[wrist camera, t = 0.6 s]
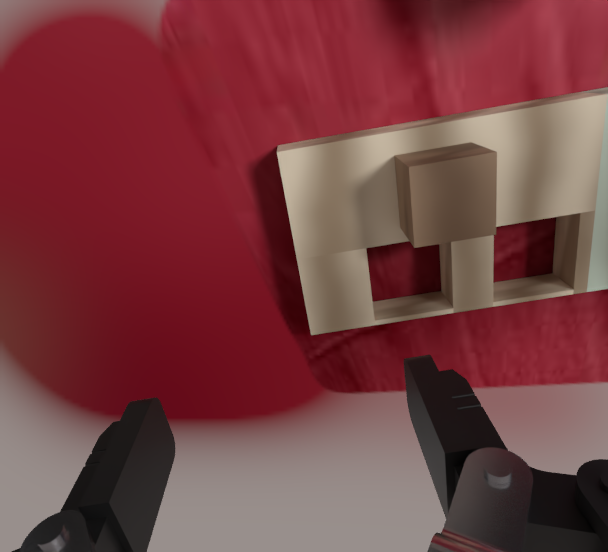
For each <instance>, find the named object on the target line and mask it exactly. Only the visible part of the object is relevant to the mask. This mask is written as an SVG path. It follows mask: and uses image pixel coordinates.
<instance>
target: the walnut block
mask: <svg viewBox="0 0 608 552" xmlns="http://www.w3.org/2000/svg"><path fill="white" fill-rule="evenodd" d="M394 159H395V171H396V183H397V195H398V208H399V220H400V228H401V230H402V231H403V233H404V234H405V235H406V237H407V238H408V240H409V241H410V242H411V244H412V245H413V247H414V248H418V247H424V246H430V245H436V244H442V243H448V242H454V241H461V240H467V239H473V238H479V237H485V236H491V235H496V200H497V152H496V151H493V150H491V149H488V148H485V147H483V146H480V145H477V144H475V143H472V142H469V143H463V144H458V145H452V146H446V147H440V148H435V149H429V150H423V151H417V152H411V153H406V154H400V155H394Z"/></svg>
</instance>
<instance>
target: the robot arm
mask: <svg viewBox="0 0 608 552" xmlns="http://www.w3.org/2000/svg"><path fill="white" fill-rule="evenodd" d="M404 370H405V381H406V392H407V402H408V408H409V413H410V417H411V421H412V424H413V427H414V429H415V432H416V435H417V438H418V441H419V443H420V446H421V449H422V452H423V455H424V457H425V460H426V463H427V466H428V469H429V472H430V475H431V477H432V480H433V483H434V486H435V488H436V491H437V494H438V497H439V500H440V503H441V505H442V508H443V511H444V514H445V517H446V522H445V525H444V528H443V531H442V532H441V534H440V533H436V534H435V535H434V536H433V538H432V541H431V543H430V546H429V549H428V552H608V460H603V459H599V460H592V461H589V462H586V463H584V464H583V465H582V466H581V467H580V468H579V470H578V472H577V476H576V475H567V474H560V473H551V472H545V471H541V470H537V469H534V468H532V467H529V466H528V464H527V463H526V462H525V461H524V460H523V459H522V458H521V457H519V456H518V455H516V454H515V453H513V452H510V451H508V449H507V448H506V447H505V445H504V443H503V441H502V440H501V438H500V436H499V435H498V433H497V431H496V429H495V428H494V426H493V424H492V422H491V421H490V419H489V417H488V416H487V414H486V412H485V411H484V409H483V407H481V404H480V402H479V400H478V399H477V397H476V396H475V394H474V392H473V390H472V388H471V387H470V385H469V383H468V381H467V380H466V379H465V378H463V377H462V376H461V375H459V374H458V373H457V372H455V371H454V370H453V369H452V370H446V371H438V369H437V367H436V365H435V363H434V361H433V359H432V357H431V355H425V356H419V357H412V358H406V359H404ZM174 457H175V442H174V437H173V434H172V431H171V429H170V426H169V423H168V421H167V418H166V415H165V413H164V410H163V408H162V405H161V403H160V401H159V399H158V398H150V399H144V400H137V401H132V402H130V403H129V404H128V405H127V407H126V409H125V412H124V414H123V415H122V418H121V420H120V421H117V422H113V423H112V424H111V425H110V426H109V427H108V428H107V429H106V430H105V431H104V432H103V433H102V434H101V435H100V437H99V438H98V440H97V442H96V444H95V446H94V448H93V450H92V454H90V456H89V458H88V460H87V462H86V466H85V467H83V469H82V471H81V473H80V475H79V477H78V479H77V481H76V482H75V484H74V486H73V488H72V490H71V492H70V494H69V496H68V498H67V500H66V502H65V504H64V505H63V507H62V509H61V511H60V512H59V513H56V514H54V515H52V516H50V517H48V518H47V519H45V520H43V521H42V522H41V523H39V524H38V525H37V526H36V527H35V528H34V529H33V530H32V531H31V532H30V533H29V534H28V536H27V537H26V538H25V540H24V542H23V544H22V546H21V548H19V549H17V550H15V551H12V552H147V548H148V545H149V542H150V538H151V535H152V531H153V528H154V525H155V521H156V518H157V515H158V511H159V508H160V505H161V501H162V498H163V495H164V491H165V488H166V485H167V481H168V478H169V474H170V471H171V468H172V464H173V461H174Z"/></svg>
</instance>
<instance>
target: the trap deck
mask: <svg viewBox="0 0 608 552" xmlns="http://www.w3.org/2000/svg"><path fill="white" fill-rule="evenodd" d="M469 142H472V143H475V144H477V145H480V146H483V147H485V148H488V149H491V150H493V151H496V152H497V200H496V227H498V226H504V225H510V224H516V223H523V222H529V221H535V220H541V219H547V218H553V217H556V229H555V244H554V259H553V273H551V274H545V275H539V276H532V277H526V278H520V279H513V280H507V281H501V282H494V283H493V264H494V235H491V236H485V237H479V238H473V239H467V240H461V241H454V242H448V243H442V244H439V250H440V272H441V291H438V292H432V293H425V294H419V295H413V296H406V297H400V298H394V299H388V300H381V301H375V302H373V301H372V293H371V284H370V276H369V267H368V259H367V250H366V248H371V247H377V246H383V245H389V244H395V243H401V242H407V241H409V240H408V238H407V237H406V235H405V234H404V233H403V231H402V230H401V228H400V220H399V208H398V195H397V183H396V171H395V159H394V155H400V154H406V153H411V152H417V151H423V150H429V149H435V148H440V147H446V146H452V145H458V144H463V143H469ZM277 157H278V162H279V167H280V173H281V178H282V183H283V189H284V194H285V199H286V205H287V210H288V215H289V221H290V226H291V231H292V237H293V242H294V247H295V253H296V258H297V263H298V268H299V274H300V279H301V284H302V290H303V295H304V300H305V306H306V311H307V316H308V322H309V327H310V332H311V335H316V334H322V333H328V332H335V331H341V330H348V329H354V328H360V327H367V326H373V325H380V324H386V323H392V322H399V321H405V320H412V319H418V318H424V317H431V316H437V315H444V314H450V313H456V312H463V311H469V310H475V309H482V308H488V307H495V306H501V305H507V304H514V303H520V302H527V301H533V300H539V299H546V298H552V297H559V296H565V295H571V294H578V293H584V292H590V291H597V290H603V289H608V87H606V88H600V89H595V90H589V91H583V92H578V93H572V94H566V95H561V96H555V97H549V98H544V99H538V100H532V101H527V102H521V103H515V104H510V105H504V106H498V107H493V108H487V109H481V110H476V111H470V112H464V113H459V114H453V115H447V116H442V117H436V118H430V119H425V120H419V121H413V122H408V123H402V124H396V125H391V126H385V127H379V128H374V129H368V130H362V131H357V132H351V133H345V134H340V135H334V136H328V137H323V138H317V139H312V140H306V141H300V142H295V143H289V144H283V145H278V148H277Z"/></svg>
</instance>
